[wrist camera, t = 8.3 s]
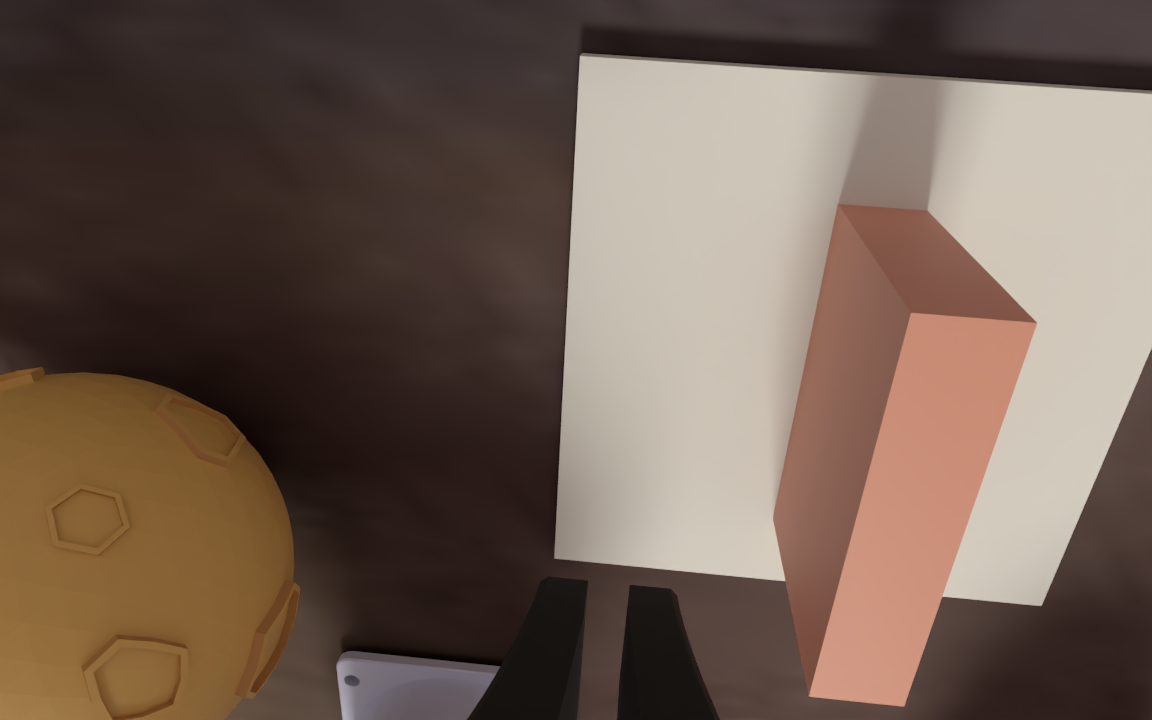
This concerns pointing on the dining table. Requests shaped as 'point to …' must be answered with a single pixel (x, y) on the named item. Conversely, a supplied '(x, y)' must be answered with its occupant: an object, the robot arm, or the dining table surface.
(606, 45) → the dining table surface
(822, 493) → the slab
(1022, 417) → the mat
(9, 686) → the stress ball
